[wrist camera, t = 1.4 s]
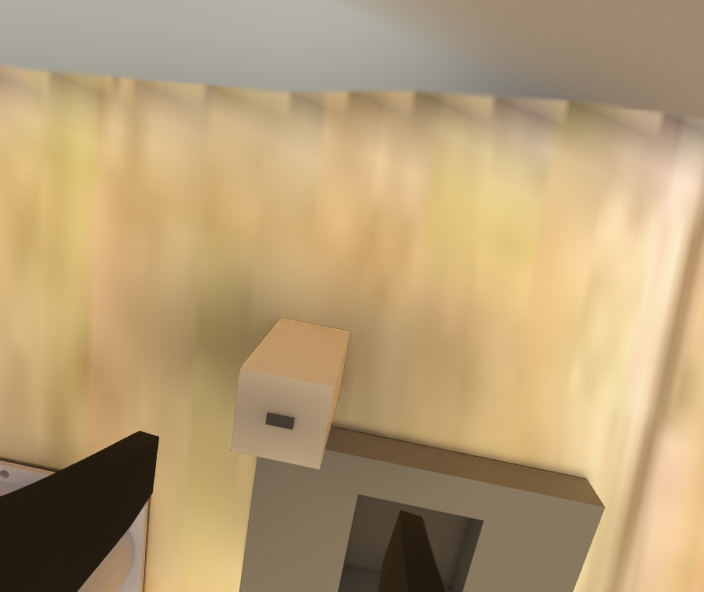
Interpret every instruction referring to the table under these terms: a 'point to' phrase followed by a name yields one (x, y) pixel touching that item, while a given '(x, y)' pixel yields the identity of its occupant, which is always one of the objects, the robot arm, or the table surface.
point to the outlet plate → (420, 499)
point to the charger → (290, 393)
